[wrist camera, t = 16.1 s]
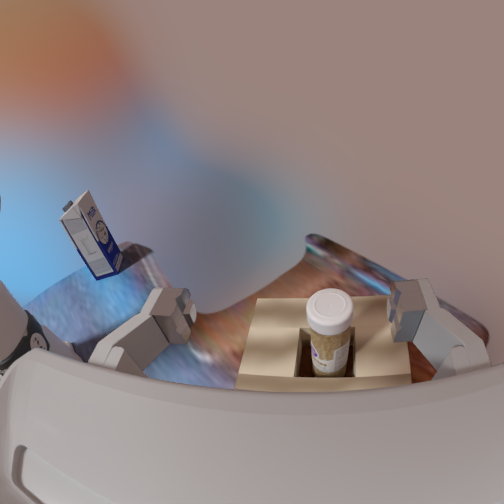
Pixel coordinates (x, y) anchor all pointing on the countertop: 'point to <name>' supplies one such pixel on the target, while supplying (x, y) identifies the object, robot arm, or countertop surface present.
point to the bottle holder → (298, 334)
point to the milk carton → (91, 237)
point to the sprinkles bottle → (329, 331)
